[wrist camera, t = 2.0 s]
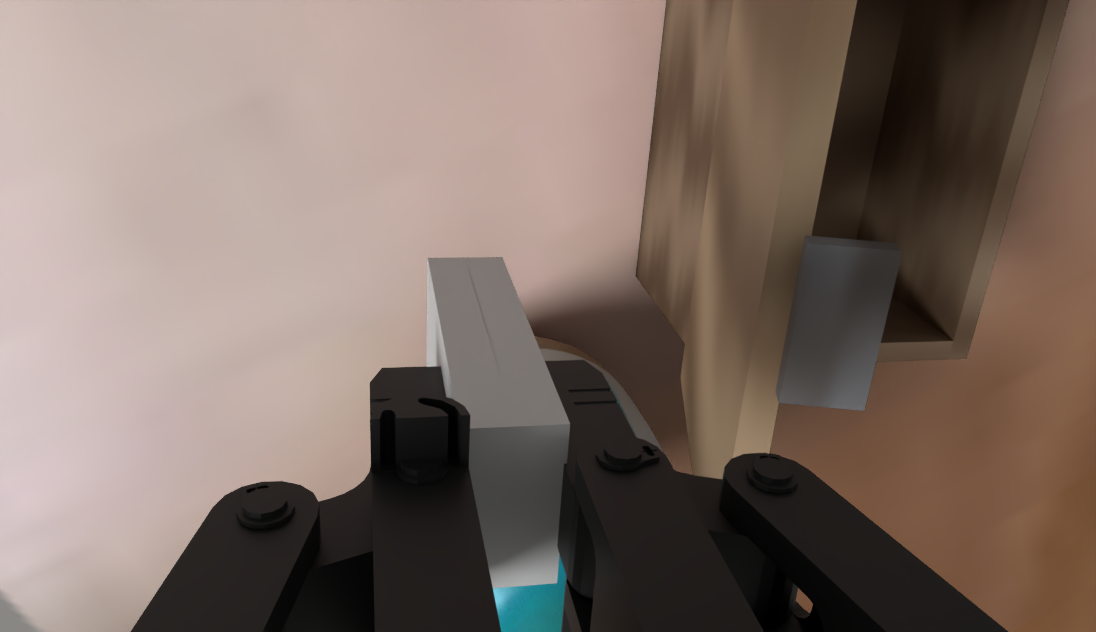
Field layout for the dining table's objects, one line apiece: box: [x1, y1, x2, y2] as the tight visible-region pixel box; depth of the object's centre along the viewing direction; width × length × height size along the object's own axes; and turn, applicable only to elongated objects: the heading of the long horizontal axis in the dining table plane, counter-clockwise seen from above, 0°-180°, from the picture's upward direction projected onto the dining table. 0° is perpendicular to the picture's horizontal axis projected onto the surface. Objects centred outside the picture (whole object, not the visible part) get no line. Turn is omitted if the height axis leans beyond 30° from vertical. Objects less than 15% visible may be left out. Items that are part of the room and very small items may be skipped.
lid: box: [680, 0, 903, 479], centre depth 24 cm, size 16×13×2 cm
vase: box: [493, 336, 664, 632], centre depth 34 cm, size 11×11×19 cm
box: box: [636, 0, 1069, 362], centre depth 35 cm, size 15×11×9 cm
